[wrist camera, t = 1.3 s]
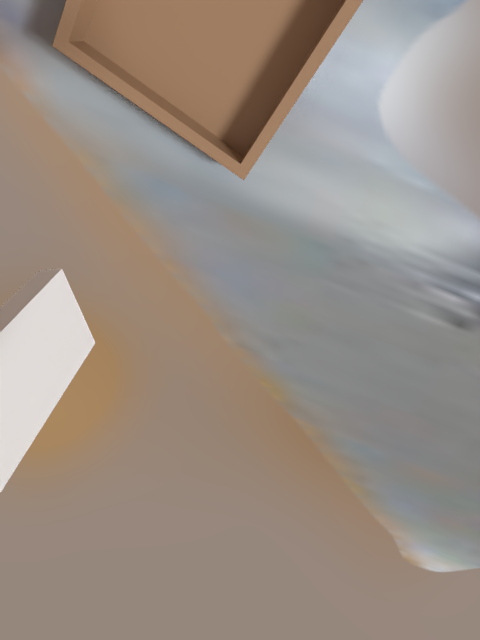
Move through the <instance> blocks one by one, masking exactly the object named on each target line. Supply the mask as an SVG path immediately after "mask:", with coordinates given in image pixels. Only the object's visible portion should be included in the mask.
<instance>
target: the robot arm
mask: <svg viewBox="0 0 480 640" xmlns="http://www.w3.org/2000/svg"><path fill="white" fill-rule="evenodd" d="M94 344H95V341H94V339H93V337H92V334H91V332H90V330H89V328H88V325H87V323H86V321H85V319H84V317H83V314H82V312H81V310H80V308H79V305H78V303H77V301H76V299H75V297H74V294H73V292H72V290H71V288H70V286H69V283H68V281H67V279H66V277H65V275H64V272H63V270H62V269H54V270H44V271H38V272H37V273H36V274H35V275H34V276H33V277H32V278H30V279H29V280H28V281H27V282H26V283H25V284H24V285H23V286H22V287H21V288H20V289H19V290H18V291H17V292H16V293H15V294H14V295H13V296H12V297H10V298H9V299H8V300H7V301H6V302H5V303H4V304H3V305H2V306H1V307H0V492H1V491H2V489H3V488H4V486H5V484H6V483H7V481H8V480H9V478H10V477H11V475H12V474H13V472H14V470H15V468H16V467H17V466H18V464H19V462H20V461H21V459H22V458H23V456H24V455H25V453H26V451H27V450H28V448H29V447H30V445H31V443H32V442H33V440H34V439H35V437H36V435H37V434H38V432H39V431H40V429H41V428H42V426H43V424H44V423H45V421H46V420H47V418H48V417H49V415H50V414H51V412H52V410H53V409H54V407H55V406H56V404H57V403H58V401H59V399H60V398H61V396H62V394H63V393H64V391H65V390H66V388H67V387H68V385H69V384H70V382H71V380H72V379H73V377H74V376H75V374H76V373H77V371H78V369H79V368H80V366H81V365H82V363H83V361H84V360H85V358H86V357H87V355H88V354H89V352H90V350H91V349H92V347H93V346H94Z"/></svg>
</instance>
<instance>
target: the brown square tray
mask: <svg viewBox="0 0 480 640" xmlns="http://www.w3.org/2000/svg"><path fill="white" fill-rule="evenodd" d="M362 1H363V0H66V3H65V6H64V10H63V13H62V16H61V19H60V23H59V26H58V29H57V32H56V36H55V39H54V42H53V45H52V46H53V47H54V48H56V49H57V50H59V51H60V52H62V53H63V54H64V55H66V56H67V57H69V58H70V59H72V60H73V61H74V62H76V63H77V64H79V65H80V66H82V67H83V68H84V69H86V70H87V71H89V72H90V73H92V74H93V75H94V76H96V77H97V78H99V79H100V80H102V81H103V82H104V83H106V84H107V85H109V86H110V87H112V88H113V89H114V90H116V91H117V92H119V93H120V94H122V95H123V96H124V97H126V98H127V99H129V100H130V101H132V102H133V103H134V104H136V105H137V106H139V107H140V108H142V109H143V110H144V111H146V112H147V113H149V114H150V115H152V116H153V117H154V118H156V119H157V120H159V121H160V122H161V123H163V124H164V125H166V126H167V127H169V128H170V129H171V130H173V131H174V132H176V133H177V134H179V135H180V136H181V137H183V138H184V139H186V140H187V141H189V142H190V143H191V144H193V145H194V146H196V147H197V148H199V149H200V150H201V151H203V152H204V153H206V154H207V155H209V156H210V157H211V158H213V159H214V160H216V161H217V162H219V163H220V164H221V165H223V166H224V167H226V168H227V169H229V170H230V171H231V172H233V173H234V174H236V175H237V176H239V177H240V178H241V179H243V180H244V179H245V178H246V176H247V175H248V173H249V172H250V170H251V169H252V167H253V166H254V164H255V162H256V161H257V159H258V158H259V156H260V155H261V153H262V152H263V150H264V149H265V147H266V146H267V144H268V143H269V141H270V140H271V138H272V137H273V135H274V134H275V132H276V131H277V129H278V128H279V126H280V125H281V123H282V122H283V120H284V119H285V117H286V116H287V114H288V113H289V111H290V110H291V108H292V107H293V105H294V104H295V102H296V101H297V99H298V98H299V96H300V95H301V93H302V92H303V90H304V89H305V87H306V86H307V84H308V83H309V81H310V80H311V78H312V77H313V75H314V74H315V72H316V71H317V69H318V68H319V66H320V65H321V63H322V62H323V60H324V59H325V57H326V56H327V54H328V53H329V51H330V50H331V48H332V47H333V45H334V44H335V42H336V41H337V39H338V38H339V36H340V35H341V33H342V32H343V30H344V29H345V27H346V26H347V24H348V23H349V21H350V19H351V18H352V16H353V15H354V13H355V12H356V10H357V9H358V7H359V6H360V4H361V3H362Z"/></svg>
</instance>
